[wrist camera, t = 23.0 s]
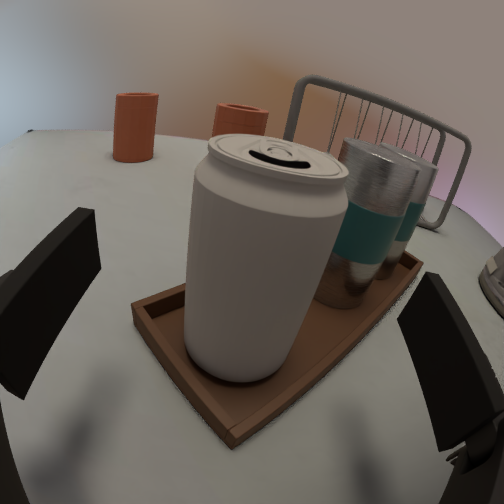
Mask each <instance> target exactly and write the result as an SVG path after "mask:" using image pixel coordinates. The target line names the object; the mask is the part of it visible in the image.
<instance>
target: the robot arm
mask: <svg viewBox="0 0 504 504" xmlns="http://www.w3.org/2000/svg"><path fill="white" fill-rule="evenodd" d="M100 270H101V262H100V256H99V248H98V240H97V232H96V222H95V211H94V210H93V209H87V208H81V207H78V208H77V209H76V210H75V211H73V212H72V213H71V214H70V215H69V216H68V217H67V218H66V219H64V220H63V221H62V222H61V223H60V224H59V225H58V226H57V227H56V228H55V229H54V230H53V231H52V232H50V233H49V234H48V235H47V236H46V237H45V238H44V239H43V240H42V241H41V242H40V243H39V244H38V245H37V246H36V247H35V248H34V249H33V250H32V251H31V252H30V253H29V254H28V255H27V256H26V258H25V259H24V260H23V261H22V262H21V263H20V264H19V265H18V266H17V267H16V268H15V269H14V270H10V271H8V272H7V273H5V274H4V275H2V276H1V277H0V383H1V384H2V385H3V387H4V388H5V389H6V390H7V391H8V392H10V393H12V394H13V395H15V396H17V397H18V398H20V399H22V400H24V399H25V397H26V394H27V392H28V390H29V388H30V386H31V384H32V382H33V380H34V378H35V376H36V374H37V372H38V370H39V369H40V367H41V365H42V363H43V361H44V359H45V357H46V356H47V354H48V352H49V350H50V348H51V347H52V345H53V343H54V341H55V340H56V338H57V336H58V335H59V333H60V331H61V330H62V328H63V326H64V325H65V323H66V321H67V320H68V318H69V316H70V315H71V313H72V312H73V310H74V308H75V307H76V305H77V304H78V302H79V301H80V299H81V298H82V296H83V295H84V293H85V292H86V290H87V289H88V287H89V286H90V284H91V283H92V281H93V280H94V278H95V277H96V275H97V274H98V273H99V271H100ZM479 280H480V284H481V287H482V289H483V291H484V293H485V294H486V296H487V298H488V299H489V300H490V302H491V303H492V305H493V306H494V307H495V308H496V310H497V311H498V312H499V313H500V314H501V315H502V316H503V317H504V247H503V248H502V249H501V250H500V251H499V252H498V253H497V254H496V255H495V256H494V257H493V256H492V257H491V258H490V259H489V260H488V261H487V262H486V265H485V267H484V268H483V270H482V272H481V273H480V276H479ZM397 321H398V323H399V326H400V328H401V331H402V334H403V336H404V339H405V342H406V344H407V347H408V350H409V353H410V355H411V358H412V361H413V364H414V367H415V370H416V373H417V376H418V379H419V382H420V385H421V388H422V391H423V395H424V398H425V401H426V405H427V408H428V412H429V415H430V419H431V423H432V427H433V430H434V434H435V438H436V443H437V447H438V451H439V452H442V451H445V450H449V449H452V448H454V447H456V446H457V445H459V444H460V443H462V442H463V441H465V443H466V445H465V446H463V447H462V448H460V449H458V450H457V451H455V452H454V453H452V454H450V455H449V456H448V457H447V459H446V461H447V462H448V461H449V460H451V459H453V458H455V457H456V456H458V457H457V458H456V459H454V460H452V461H451V462H450V463H451V464H452V465H454V468H453V471H452V474H451V476H450V479H449V481H448V484H447V486H446V489H445V491H444V493H443V495H442V498H441V500H440V502H439V504H504V394H503V391H502V389H501V387H500V384H499V382H498V380H497V378H495V376H496V375H495V373H494V371H493V369H491V367H492V366H491V364H490V362H489V360H488V358H487V356H486V355H485V353H484V352H483V350H482V348H481V346H480V344H479V342H478V340H477V338H476V337H475V335H474V333H473V331H472V329H471V327H470V325H469V324H468V322H467V320H466V318H465V316H464V315H463V313H462V311H461V310H460V308H459V306H458V304H457V303H456V301H455V299H454V298H453V296H452V294H451V293H450V291H449V290H448V288H447V286H446V285H445V283H444V282H443V280H442V279H441V277H440V276H439V274H435V273H430V272H425V274H424V276H423V277H422V279H421V281H420V283H419V284H418V286H417V288H416V289H415V291H414V293H413V294H412V296H411V298H410V299H409V301H408V303H407V304H406V306H405V307H404V309H403V310H402V312H401V314H400V315H399V317H398V318H397ZM0 504H30V503H29V500H28V498H27V496H26V493H25V491H24V488H23V485H22V483H21V480H20V477H19V474H18V471H17V468H16V465H15V462H14V458H13V455H12V452H11V448H10V444H9V440H8V436H7V432H6V428H5V423H4V418H3V413H2V408H1V402H0Z"/></svg>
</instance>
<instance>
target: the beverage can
mask: <svg viewBox="0 0 504 504" xmlns="http://www.w3.org/2000/svg"><path fill="white" fill-rule="evenodd" d="M208 151H209V153H208V155H207V156H206V157H205V158H204V159H203V160H202V161H201V162H200V163H199V165H198V166H197V167H196V169H195V175H194V184H193V194H192V204H191V215H190V227H189V239H188V253H187V269H186V288H185V313H184V342H185V346H186V349H187V351H188V353H189V355H190V356H191V358H192V359H193V361H194V362H195V363H196V364H197V365H198V366H199V367H200V368H202V369H203V370H205V371H206V372H208V373H209V374H211V375H213V376H215V377H217V378H220V379H223V380H226V381H231V382H253V381H257V380H261V379H263V378H266V377H268V376H270V375H271V374H273V373H274V372H276V371H277V370H278V369H279V368H280V367H281V365H282V364H283V363H284V361H285V359H286V357H287V355H288V353H289V351H290V349H291V347H292V345H293V342H294V340H295V338H296V336H297V334H298V331H299V329H300V327H301V325H302V322H303V320H304V318H305V315H306V313H307V311H308V308H309V306H310V304H311V301H312V299H313V297H314V294H315V292H316V289H317V287H318V284H319V282H320V279H321V277H322V275H323V272H324V269H325V267H326V264H327V262H328V259H329V257H330V254H331V251H332V249H333V246H334V244H335V241H336V238H337V235H338V233H339V230H340V227H341V224H342V222H343V219H344V216H345V213H346V210H347V208H348V198H347V194H346V191H345V188H344V184H343V182H345V181H346V180H347V177H348V174H349V171H348V169H347V168H346V167H345V166H344V165H343V164H342V163H341V162H339V161H338V160H336V159H334V158H333V157H331V156H329V155H327V154H325V153H322V152H320V151H317V150H315V149H312V148H310V147H307V146H304V145H301V144H297V143H294V142H290V141H286V140H282V139H277V138H272V137H266V136H260V135H250V134H224V135H218V136H214V137H212V138H211V139H209V142H208Z"/></svg>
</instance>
